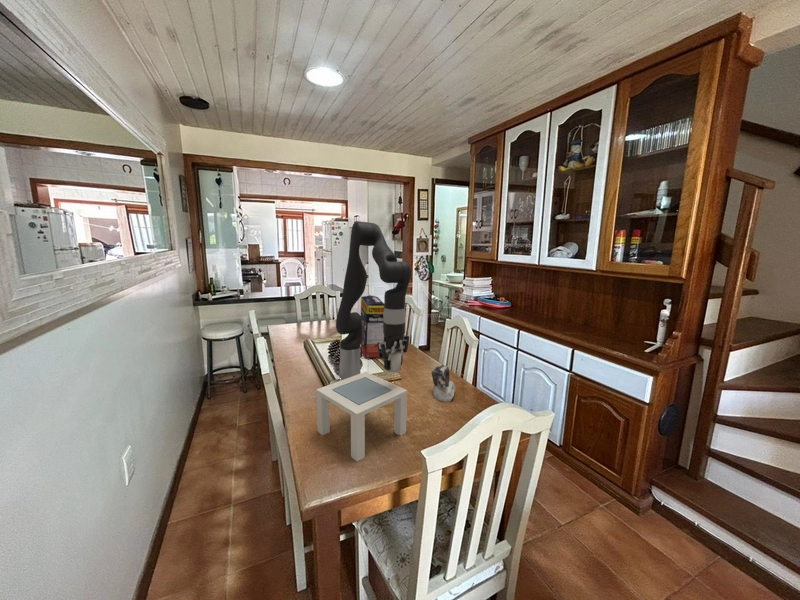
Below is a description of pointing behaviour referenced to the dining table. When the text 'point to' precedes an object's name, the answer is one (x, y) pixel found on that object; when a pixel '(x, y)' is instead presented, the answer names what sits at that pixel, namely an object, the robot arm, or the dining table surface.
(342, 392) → the trapdoor
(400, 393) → the stand
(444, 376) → the stone
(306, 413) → the dining table surface
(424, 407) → the dining table surface
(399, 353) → the white rounded cylinder
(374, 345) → the cereal box
